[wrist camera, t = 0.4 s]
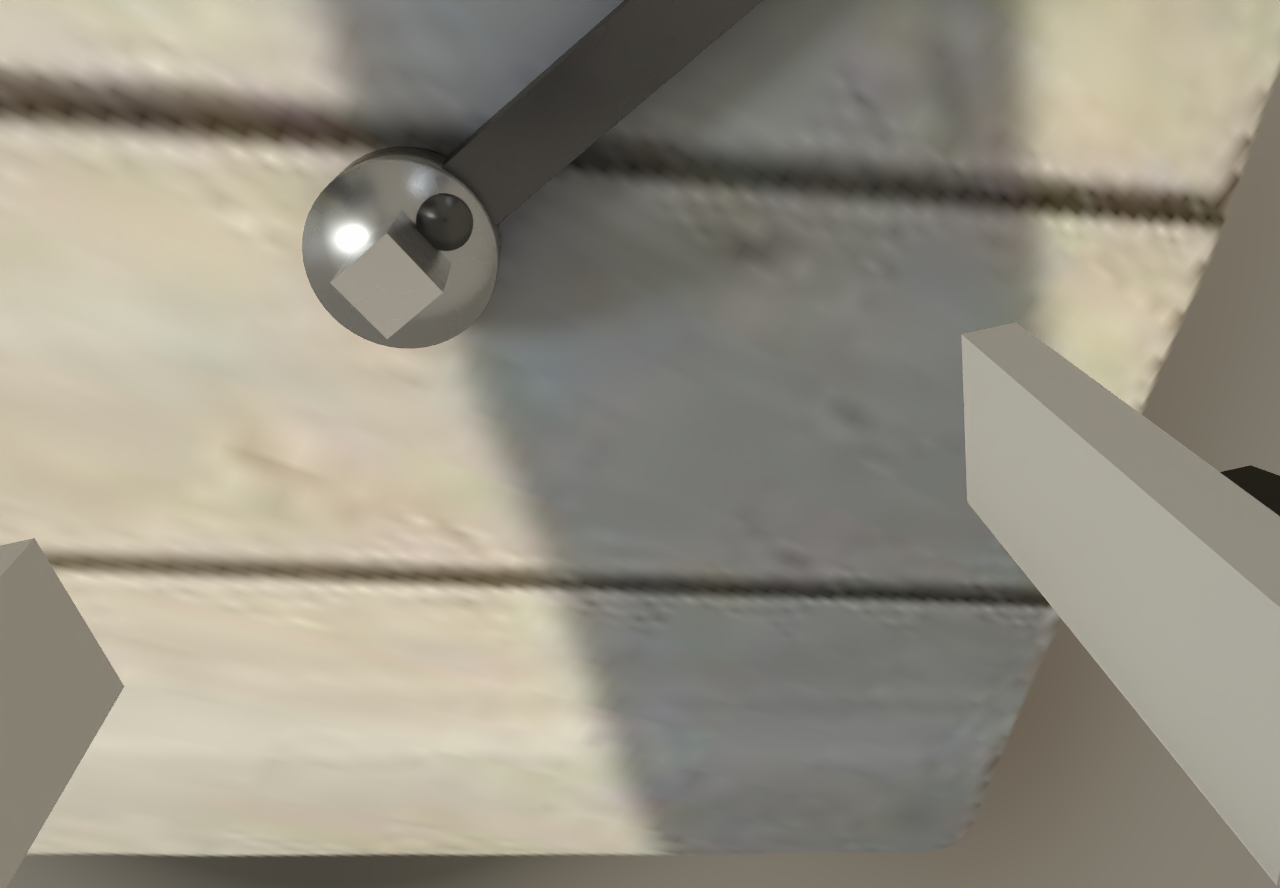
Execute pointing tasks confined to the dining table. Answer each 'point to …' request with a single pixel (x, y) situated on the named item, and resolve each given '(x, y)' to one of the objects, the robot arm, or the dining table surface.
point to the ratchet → (485, 179)
